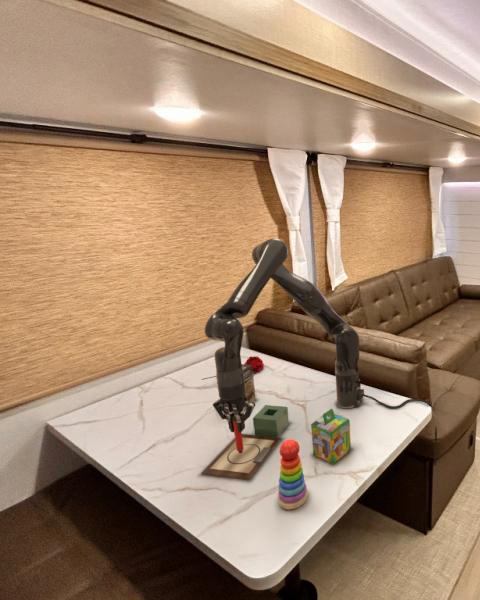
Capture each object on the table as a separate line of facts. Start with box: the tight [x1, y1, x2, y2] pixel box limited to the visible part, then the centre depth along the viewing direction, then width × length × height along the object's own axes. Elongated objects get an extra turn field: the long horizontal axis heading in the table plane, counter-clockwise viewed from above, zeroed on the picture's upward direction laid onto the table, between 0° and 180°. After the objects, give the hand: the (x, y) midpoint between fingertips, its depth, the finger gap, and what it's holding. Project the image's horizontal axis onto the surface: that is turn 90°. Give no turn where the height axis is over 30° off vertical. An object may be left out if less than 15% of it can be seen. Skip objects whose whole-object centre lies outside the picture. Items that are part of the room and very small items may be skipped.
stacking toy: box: [277, 438, 309, 510], centre depth 101 cm, size 8×8×19 cm
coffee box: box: [241, 363, 257, 409], centre depth 150 cm, size 9×6×16 cm
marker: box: [232, 415, 244, 453], centre depth 118 cm, size 2×2×13 cm
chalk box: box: [310, 408, 352, 465], centre depth 121 cm, size 9×9×15 cm
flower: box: [201, 356, 265, 380], centre depth 175 cm, size 9×10×30 cm
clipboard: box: [201, 433, 282, 481], centre depth 122 cm, size 16×20×1 cm
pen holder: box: [252, 404, 290, 438], centre depth 135 cm, size 9×9×7 cm
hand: (237, 430), depth 118 cm, fingers closed on marker, 2 cm apart
